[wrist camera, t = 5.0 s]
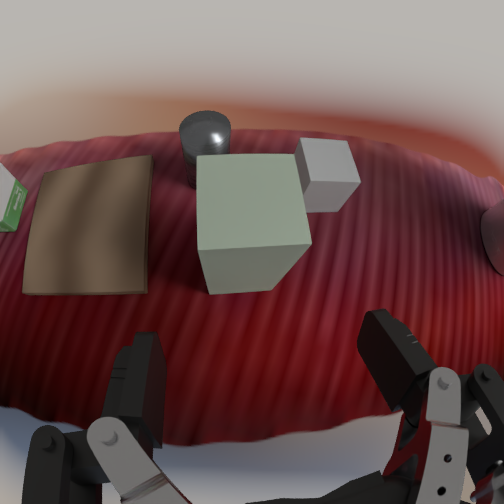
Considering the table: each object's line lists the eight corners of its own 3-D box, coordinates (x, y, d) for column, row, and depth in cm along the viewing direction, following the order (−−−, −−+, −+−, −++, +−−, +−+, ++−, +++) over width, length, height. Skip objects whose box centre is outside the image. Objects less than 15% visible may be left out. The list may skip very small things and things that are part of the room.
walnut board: (154, 161, 23) (151, 154, 22) (147, 293, 20) (143, 290, 19) (48, 178, 22) (44, 172, 21) (28, 294, 18) (22, 292, 17)
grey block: (327, 174, 25) (346, 141, 20) (337, 212, 24) (360, 182, 19) (286, 173, 24) (299, 137, 20) (294, 212, 23) (310, 181, 18)
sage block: (264, 232, 22) (294, 154, 13) (271, 290, 21) (311, 243, 11) (206, 235, 22) (196, 155, 12) (209, 294, 20) (197, 250, 11)
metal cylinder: (228, 158, 24) (230, 109, 18) (229, 191, 23) (231, 144, 17) (188, 159, 24) (181, 112, 18) (186, 193, 23) (177, 147, 17)
